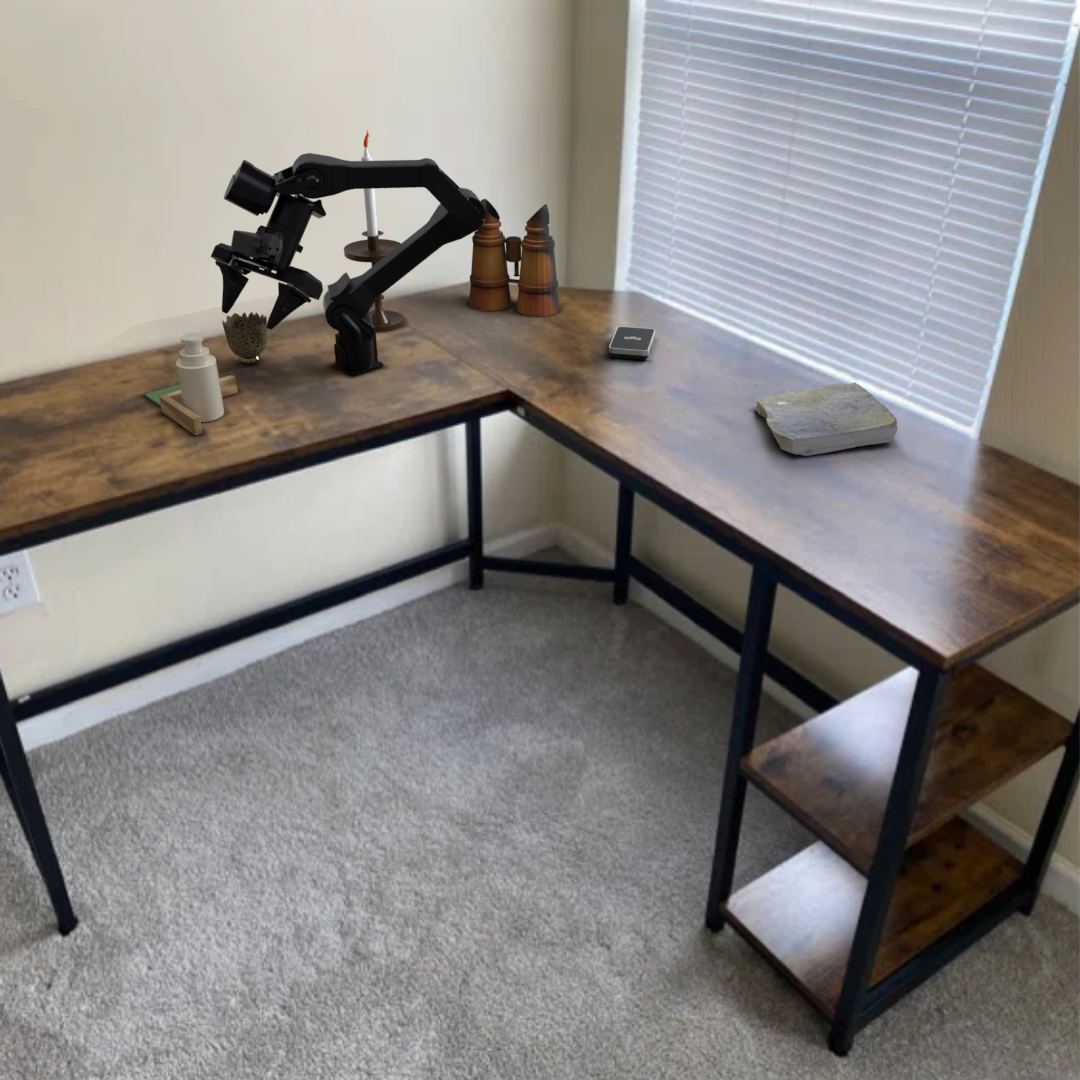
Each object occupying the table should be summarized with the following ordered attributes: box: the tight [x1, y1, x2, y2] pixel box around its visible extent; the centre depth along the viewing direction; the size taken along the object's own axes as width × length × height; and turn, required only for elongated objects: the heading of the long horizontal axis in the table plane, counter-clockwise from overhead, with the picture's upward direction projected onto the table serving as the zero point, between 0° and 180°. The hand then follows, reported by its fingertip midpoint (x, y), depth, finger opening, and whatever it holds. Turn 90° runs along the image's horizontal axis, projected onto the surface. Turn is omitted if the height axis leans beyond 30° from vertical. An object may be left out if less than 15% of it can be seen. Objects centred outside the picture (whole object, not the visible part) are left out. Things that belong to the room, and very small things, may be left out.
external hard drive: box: [608, 325, 656, 361], centre depth 200 cm, size 7×11×2 cm, turn 168°
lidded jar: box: [175, 331, 225, 423], centre depth 174 cm, size 6×6×13 cm
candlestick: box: [343, 130, 405, 333], centre depth 203 cm, size 11×11×35 cm
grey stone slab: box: [754, 382, 898, 457], centre depth 172 cm, size 20×5×17 cm
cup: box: [221, 311, 268, 366], centre depth 193 cm, size 8×7×8 cm
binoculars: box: [468, 198, 561, 317], centre depth 215 cm, size 18×8×20 cm, turn 72°
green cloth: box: [144, 383, 180, 408], centre depth 185 cm, size 12×6×1 cm, turn 132°
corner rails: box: [159, 374, 239, 436], centre depth 177 cm, size 13×11×3 cm
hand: (246, 320), depth 178 cm, fingers open, 9 cm apart
